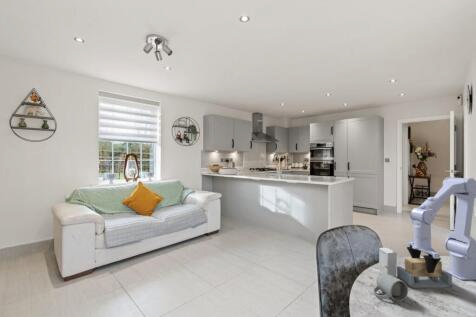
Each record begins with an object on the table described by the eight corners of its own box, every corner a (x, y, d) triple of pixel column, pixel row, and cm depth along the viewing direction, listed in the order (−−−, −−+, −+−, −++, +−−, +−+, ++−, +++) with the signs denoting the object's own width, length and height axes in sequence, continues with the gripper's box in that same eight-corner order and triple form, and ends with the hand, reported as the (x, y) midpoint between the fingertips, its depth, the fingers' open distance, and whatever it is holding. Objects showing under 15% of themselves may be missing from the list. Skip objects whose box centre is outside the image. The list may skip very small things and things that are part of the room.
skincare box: (378, 273, 106) (377, 247, 106) (387, 273, 106) (387, 247, 106) (387, 280, 100) (387, 252, 100) (397, 280, 100) (397, 252, 100)
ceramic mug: (390, 288, 94) (390, 269, 94) (409, 300, 86) (408, 279, 86) (368, 292, 92) (367, 273, 92) (384, 304, 84) (383, 283, 84)
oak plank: (412, 276, 96) (411, 262, 96) (405, 272, 100) (404, 258, 100) (441, 276, 96) (441, 262, 96) (433, 271, 100) (433, 257, 100)
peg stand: (435, 277, 102) (435, 265, 102) (452, 287, 94) (451, 275, 94) (397, 277, 102) (396, 266, 102) (410, 287, 94) (410, 275, 94)
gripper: (401, 231, 105) (401, 260, 105) (426, 242, 91) (427, 277, 91) (416, 231, 105) (417, 260, 105) (444, 242, 91) (445, 276, 91)
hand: (423, 268), depth 98 cm, fingers open, 7 cm apart
